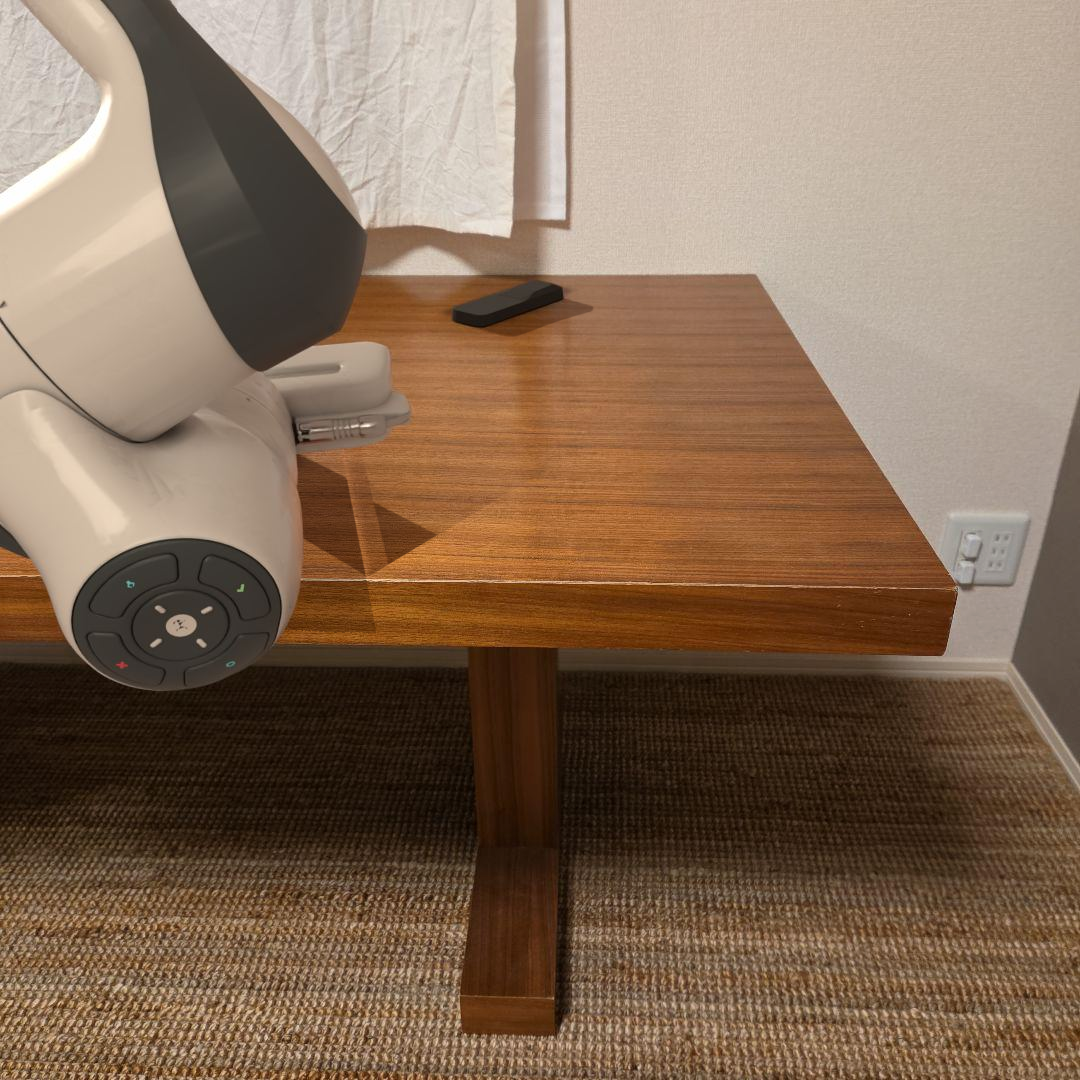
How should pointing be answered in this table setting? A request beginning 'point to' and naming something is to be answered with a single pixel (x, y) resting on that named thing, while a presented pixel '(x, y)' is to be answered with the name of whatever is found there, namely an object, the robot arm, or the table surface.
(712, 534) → the table surface
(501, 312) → the remote control
